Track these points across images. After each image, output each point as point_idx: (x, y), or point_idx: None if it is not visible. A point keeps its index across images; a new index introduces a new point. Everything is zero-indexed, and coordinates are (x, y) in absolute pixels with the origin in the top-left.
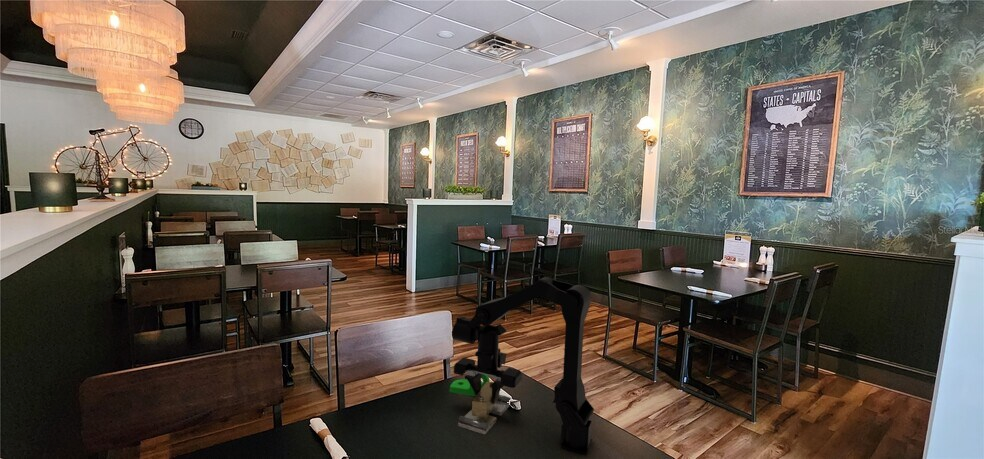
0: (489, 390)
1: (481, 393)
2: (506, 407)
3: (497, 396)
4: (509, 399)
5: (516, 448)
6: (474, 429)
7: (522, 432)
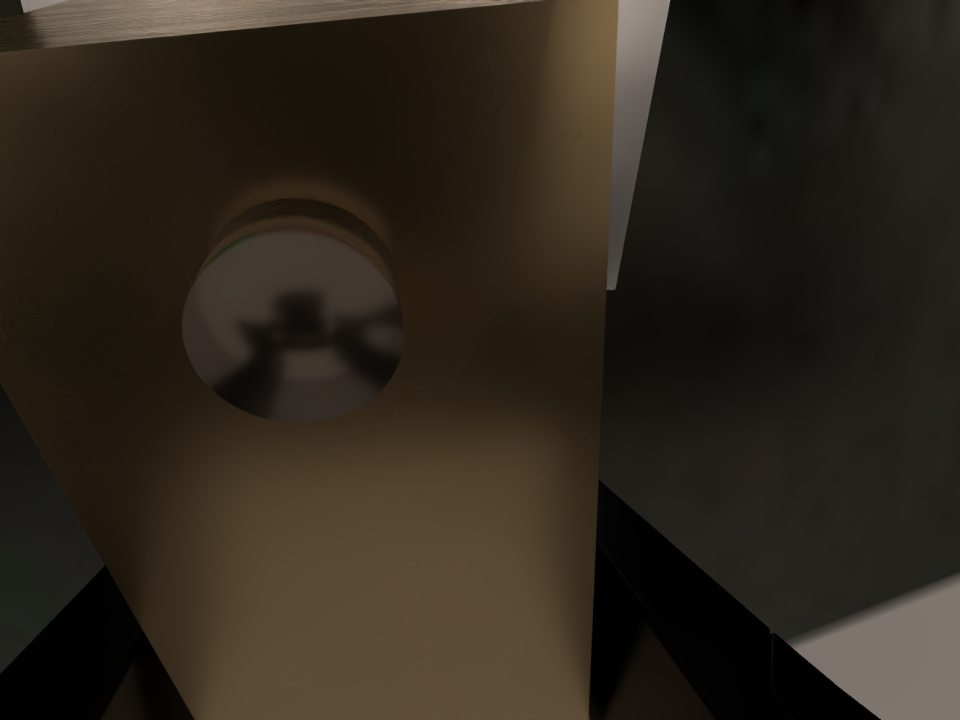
0: (433, 612)
1: None
2: (651, 38)
3: (663, 551)
4: None
5: (835, 614)
6: None
7: (894, 433)
